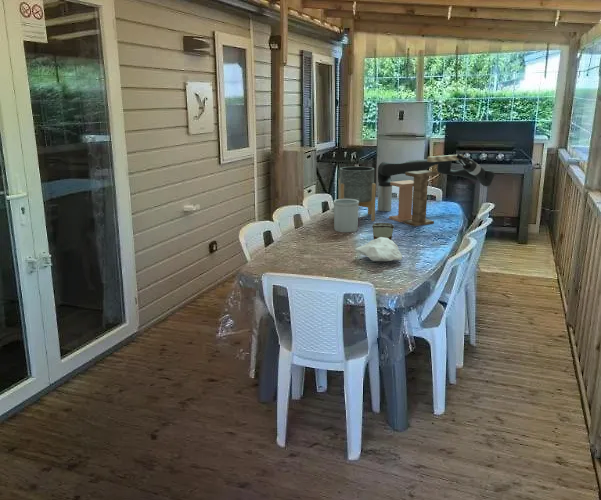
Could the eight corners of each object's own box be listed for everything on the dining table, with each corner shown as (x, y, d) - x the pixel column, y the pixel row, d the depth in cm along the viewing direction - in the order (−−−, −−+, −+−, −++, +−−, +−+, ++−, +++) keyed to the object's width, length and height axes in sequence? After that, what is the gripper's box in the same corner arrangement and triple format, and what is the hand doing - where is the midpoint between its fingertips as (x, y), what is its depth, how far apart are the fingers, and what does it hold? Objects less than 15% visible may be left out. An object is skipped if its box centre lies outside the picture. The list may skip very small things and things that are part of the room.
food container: (393, 240, 304) (393, 222, 302) (394, 243, 298) (394, 225, 296) (370, 239, 306) (371, 222, 303) (371, 242, 300) (371, 224, 297)
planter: (375, 221, 351) (376, 170, 343) (340, 221, 352) (340, 170, 343) (371, 213, 373) (372, 166, 364) (338, 213, 373) (338, 166, 364)
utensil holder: (356, 233, 320) (357, 203, 316) (331, 232, 323) (331, 202, 319) (359, 227, 334) (360, 199, 330) (335, 226, 337) (335, 198, 332)
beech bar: (459, 159, 352) (459, 154, 351) (463, 159, 349) (463, 154, 348) (427, 161, 341) (427, 156, 340) (430, 162, 338) (431, 157, 337)
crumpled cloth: (347, 264, 257) (351, 245, 254) (360, 244, 290) (363, 228, 287) (397, 275, 252) (401, 256, 249) (404, 254, 285) (407, 237, 282)
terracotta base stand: (408, 216, 364) (410, 180, 358) (420, 219, 354) (422, 182, 348) (388, 218, 357) (390, 181, 351) (400, 222, 347) (401, 184, 340)
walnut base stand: (423, 220, 351) (426, 170, 343) (433, 223, 343) (436, 172, 334) (403, 223, 344) (405, 172, 336) (413, 226, 336) (416, 173, 327)
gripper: (477, 173, 350) (460, 161, 342) (461, 171, 362) (444, 159, 354) (482, 163, 350) (465, 150, 341) (466, 161, 362) (450, 148, 354)
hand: (455, 155), depth 348 cm, fingers closed on beech bar, 3 cm apart
